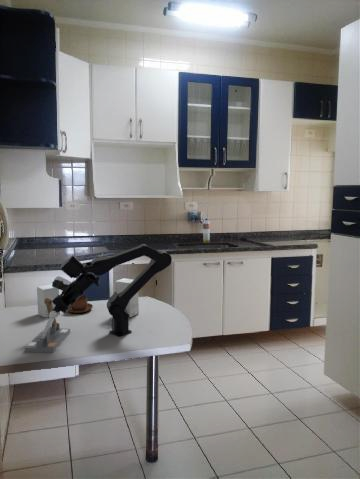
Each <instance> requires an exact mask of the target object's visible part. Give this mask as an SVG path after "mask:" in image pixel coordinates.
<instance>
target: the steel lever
mask: <svg viewBox="0 0 360 479" xmlns="http://www.w3.org/2000/svg"><path fill="white" fill-rule="evenodd" d="M49 316H50V318H49V317H48V321H47V322H46V325H45V327H44V329H43V330H44V331H43V330H42V331H43V334H42V336H41V338H40V340H43V342H44V341H45V339H46V336H47V334H48V332H49V330H50V327H52V326H51V325H52V323H53V320H54V319H56V318H58V316H59V315H58V314H57V312H56V311H51V312H50V314H49Z"/></svg>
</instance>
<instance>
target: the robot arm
mask: <svg viewBox="0 0 360 479" xmlns="http://www.w3.org/2000/svg"><path fill="white" fill-rule="evenodd" d="M141 257H147V258H148V259H150V261H149V263H148V265H147V266H146V267H145V268H144V269H143V270H142V271H141V272H140V273H139V274H138V275H137V276H136V277H135V278H134V279H133V281H132V282H131V283H130V284H129V285H128V286H127V287H126V288H125V289H124V290H123V291H122V292H120V293H118V294H117V292H116V291H114V292H113V294H112V295H111V296H110V297H108V298H107V299H108V300H107V302H106V308H107V311H108V313H109V315H111V330H109V331H108V332H109V333H110V334H112V335H115V336H118V337H121V336H125V335H127V334H130V333H132V330H130V329H129V322H130V321H129V319H130V317H129V314H128V312H127V310H126V307H127V305H128V303H129V301H130V299H131V298H132V297H133V296H134V295H135V294H136V293H137V292H138V293H139V291H140V290H142V288H143V287H145V285H146V284H147V283H149V281H150V280H151V279H153V277H155V275H156V274H159V273H160V272H162V271H164V270H166V269H167V268H168V267H170V265H171V264H172V263H173V259H172V256H171V254H170V253H168V252H167V251H165V250H163V249H160V250H157V249H155V248H153V247H150V246H148V245H147V244H145V243H141V244H140V245H138V246H137V245H136V246H135V247H132V248H129V249H126V250H124V251H121V252H118V253H115V254H113V255H109V256H108V255H107V256H105V255H104V256H99V257H95V258H93V259H92V260H91V261H87V262H81V261H80V260H78V258H77V257H76V256H75V255H71V256H70V257H68V258H67V259H66V260H64V262H62V264H61V265H60V267H59V270H61V271H62V272H63V273H64V274H66V275H67V276H68V277H69V278H70V279H73V278H74V280H73V281H70V280H68V279H66V278H64V277H62V276H59V275H57V276H56V277H55V278H54V280H53V281H52V282H51V284H52V287H54V288H58V289H59V291H61V293H59V295H58V296H57V297H56V298H55V299H54V300H53V301H52V302H53V303H54V304H55V305H56V306H55V307H54V309H53V310H52V311H56V312H57V313H58V312H60V313H61V312H62V314H64V313H66V312H68V311H67V310H68V309H69V308H70V307H71V305H72V304H73V303H74V302H75V301H77V300H78V299H79V298H80V297H81V295H82V296H83V294H85V292H87V290H88V289H89V288H91V287H92V285H93V284H94V285H96V286H97V287H99V286H100V279H101V278H100V276H103V275H105V274H107V273H108V272H110V271H111V270H112V269H114V268H115V267H117V266H119V265H123V264H125V263H127V262H131V261H133V260H136V259H139V258H141Z"/></svg>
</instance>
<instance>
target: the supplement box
mask: <svg viewBox="0 0 360 479" xmlns="http://www.w3.org/2000/svg"><path fill="white" fill-rule="evenodd" d="M52 284H53V283H51V284H43V285H39V286H36V296H37V297H36V298H37V299H36V300H37V314H38V315H40V317H42V318H49V314H48V310H47V306H46V304H45V302H44V300H45V299H46V298H51V299H52V301H53V300H54V299H55V298H56V297H57V296H58V295H60V289H58V288H54V287H52ZM55 306H56V305H55V304H54V303H53V302H52V307H53V309H54V307H55ZM57 314H58V316H59V315H61V311H60V312H58V313H57Z"/></svg>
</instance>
